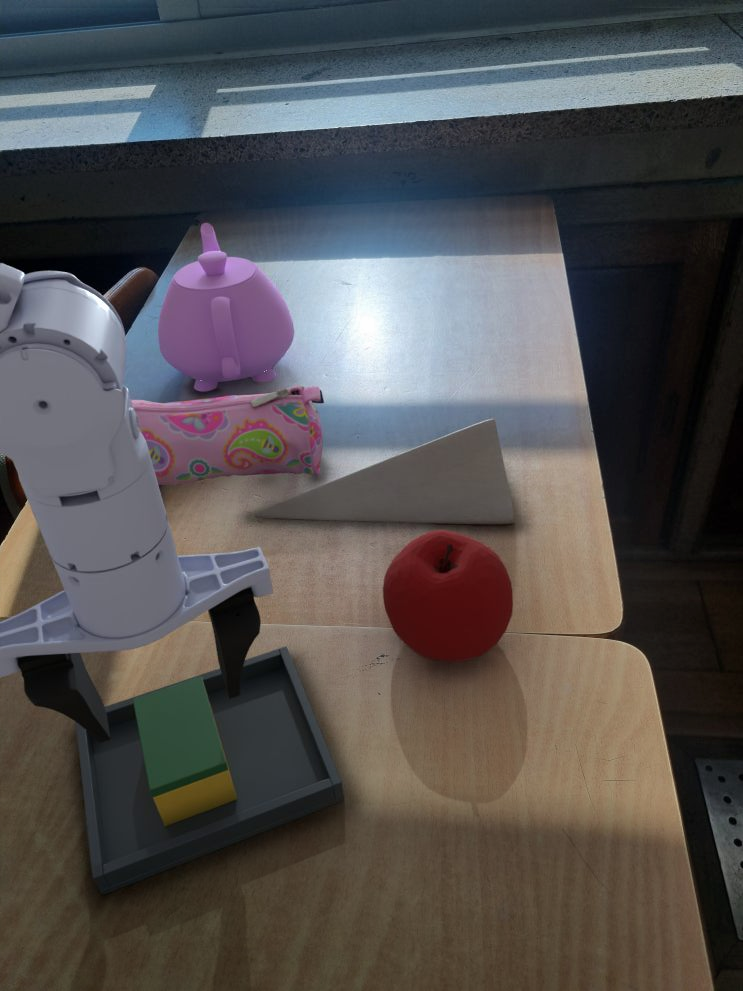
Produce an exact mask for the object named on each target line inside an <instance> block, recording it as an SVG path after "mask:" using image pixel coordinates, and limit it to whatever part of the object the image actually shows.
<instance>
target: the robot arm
mask: <svg viewBox="0 0 743 991" xmlns="http://www.w3.org/2000/svg"><path fill="white" fill-rule="evenodd" d="M127 349H128V348H127V339H126V332H125V328H124V325H123V322H122V319H121V317H120V315H119V313H118V311H117V310H116V309H115V307H114V306H113V304H112V303H111V302H110V301H109V300H108V299H107V298H106V297H105V296H104V295H102V293H100V292H99V291H97V290H96V289H94V288H93V287H91V286H89V285H87V284H85V283H84V282H82V281H81V280H80V279H78V278H77V277H76V275H74V274H72V273H70V272H65V271H58V270H40V271H33V272H29V273H26V274H25V272H23V271H22V270H19V269H17V268H15V267H13V266H10V265H7V264H5V263H3V262H0V454H2V455H3V456H5V457H7V458H8V459H10V460H11V461H12V463H13V465H14V467H15V469H16V472H17V477H18V480H19V483H20V486H21V488H22V490H23V493H24V495H25V497H26V500H27V503H28V504H29V505H28V506H29V507H30V510H31V512H32V515H33V517H34V519H35V521H36V524H37V528H38V529H39V531H40V534H41V536H42V539H43V542H44V543H45V546H46V548H47V551H48V554H49V556H50V558H51V560H52V563H53V566H54V568H55V571H56V572H57V575H58V578H59V580H60V583H61V584H62V587H63V590H62V591H60V592H58V593H56V594H54V595H53V596H50V597H48V598H46V599H44V600H43V601H41V602H39V603H37V604H35V605H33V606H31V607H29V608H27V609H25V610H23V611H21V612H20V613H18V614H16V615H14V616H12V617H9V618H7V619H4V620H2V621H0V679H1V678H4V677H7V676H11V675H13V674H16V673H18V671H20V672H21V677H22V679H23V690H24V694H25V696H26V697H27V699H28V700H29V701H30V703H31V704H32V705H33V706H35V707H40V708H45V709H49V710H51V711H54V712H57V713H59V714H62V715H64V716H65V717H67V718H68V719H71V720H72V721H73V722H75V723H76V722H77V723H78V724H79V725H81V726H82V727H83V728H84V729H85V730H87V731H88V732H89V733H90V734H91V735H92V736H93V737H94V738H95V739H96V740H97V742H99V743H101V742H104V741H107V740H110V733H109V726H108V720H107V713H106V710H105V704H104V702H103V699H102V697H101V695H100V693H99V691H98V689H97V687H96V685H95V683H94V681H93V680H92V678H91V676H90V673H89V672H88V669H87V667H86V665H85V662H84V660H83V656H82V654H83V653H100V652H101V653H103V652H121V651H131V650H134V649H139V648H143V647H146V646H148V645H152V644H153V643H155V642H157V641H159V640H161V639H163V638H165V637H167V636H168V635H170V634H171V633H173V632H175V631H176V630H178V629H179V628H181V627H182V626H184V625H186V624H188V623H190V622H192V621H193V620H194V619H196V618H197V617H199V616H201V615H202V614H204V613H206V612H208V615H209V618H210V623H211V626H212V630H213V636H214V642H215V649H216V655H217V656H216V657H217V661H218V665H219V668H220V669H221V673H222V676H223V680H224V683H225V686H226V689H227V692H228V696H229V699H231V698H234V697H237V696H239V695H240V682H241V675H242V669H243V665H244V662H245V660H246V659H247V655H248V653H249V651H250V648H251V647H252V645H253V643H254V641H255V640H256V639H257V637H258V636H259V635H260V634H261V625H262V621H261V614H260V611H259V608H258V606H257V603H256V600H255V598H256V599H257V598H259V599H260V598H262V597H265V596H269V595H272V594H274V588H273V582H272V576H271V571H270V567H269V565H268V561H267V560H266V558H265V556H264V553H263V550H262V548H261V547H260V546H257V547H252V548H249V549H246V550H240V551H232V552H221V553H220V552H219V553H202V554H185V555H184V554H183V555H179V554H178V551H177V547H176V543H175V541H174V537H173V533H172V530H171V526H170V523H169V518H168V515H167V511H166V507H165V503H164V500H163V497H162V493H161V490H160V485H158V482H157V478H156V475H155V471H154V468H153V464H152V460H151V457H150V453H149V449H148V446H147V443H146V440H145V438H144V436H143V435H142V433H141V432H140V427H139V421H138V417H137V414H136V412H135V410H134V409H133V405H132V402H131V400H132V398H131V395H130V392H129V388H128V387H127V386H125V385H124V381H125V380H124V379H125V371H126V370H125V369H126V361H127Z"/></svg>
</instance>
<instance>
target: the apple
mask: <svg viewBox="0 0 743 991" xmlns="http://www.w3.org/2000/svg"><path fill="white" fill-rule="evenodd" d="M382 599H383V600H382V601H383V606H384V610H385V613H386V616H387V618H388V620H389V623H390V626H391V628H392V630H393V631H394V633H395V634H396V636H397V637H398V638H399V640H400V641H401V642H402V643H404V644H405V645H406V646H407V647H408V648H409V649H411V650H412V651H414V652H415V653H417V654H418V655H420V656H422V657H423V658H426V659H429V660H432V661H439V662H449V663H454V662H456V663H457V662H458V663H459V662H464V661H467V660H473V659H476V658H478V657H481V656H483V655H485V654H486V653H488V652H489V651H490V650H492V648H494V647H495V646H496V645H497V644H498V642H499V641H500V640H501V638H502V637H503V635H504V634H505V633H506V631H507V629H508V626H509V624H510V621H511V619H512V615H513V610H514V591H513V585H512V581H511V578H510V575H509V572H508V569H507V567H506V565H505V564H504V562H503V561H502V558H501V557H500V555H498V554H497V552H496V551H495V550H494V549H492V548H491V547H489V546H488V545H486V544H485V543H483V542H482V541H480V540H477V539H475V538H473V537H471V536H468V535H465V534H462V533H459V532H455V531H451V530H446V529H437V530H432V531H427V532H425V533H423V534H421V535H418V536H417V537H416V538H414V539H412V540H411V541H410V542H408V543H406V545H404V546H403V547H402V549H401V550H400V551H399V552H398V554H396V555H395V557H394V558H393V559H392V561H391V562H390V564H389V565H388V567H387V569H386V572H385V574H384V577H383V584H382Z"/></svg>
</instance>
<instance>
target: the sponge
mask: <svg viewBox="0 0 743 991" xmlns="http://www.w3.org/2000/svg"><path fill="white" fill-rule="evenodd" d="M133 703H134V709H135V714H136V719H137V725H138V730H139V735H140V741H141V746H142V752H143V757H144V762H145V768H146V773H147V778H148V784H149V789H150V792H151V794H152V797H153V799H154V801H155V804H156V806H157V809H158V811H159V813H160V816H161V818H162V821H163V823H164V825H165V826H168V825H171V824H173V823H176V822H179V821H181V820H184V819H187V818H189V817H192V816H195V815H197V814H200V813H202V812H205V811H208V810H210V809H213V808H216V807H218V806H221V805H224V804H226V803H229V802H231V801H234V800H236V799H237V796H236V793H235V789H234V786H233V782H232V779H231V775H230V772H229V768H228V765H227V761H226V757H225V754H224V750H223V747H222V743H221V740H220V736H219V733H218V729H217V726H216V722H215V719H214V715H213V712H212V708H211V705H210V702H209V698H208V695H207V692H206V688H205V685H204V682H203V678H202V677H198V678H195V679H192V680H189V681H186V682H183V683H180V684H177V685H174V686H171V687H168V688H165V689H162V690H159V691H156V692H153V693H150V694H147V695H144V696H141V697H138V698H135V699H133Z"/></svg>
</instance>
